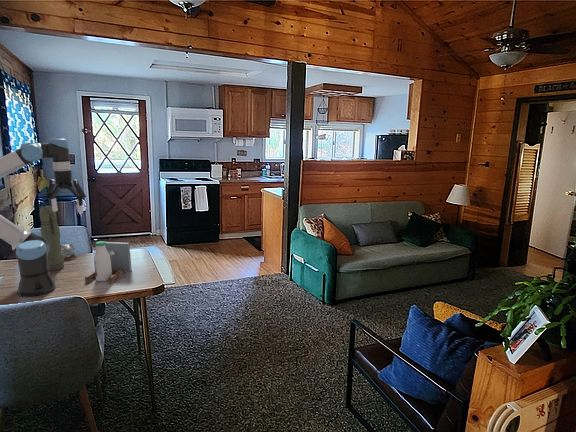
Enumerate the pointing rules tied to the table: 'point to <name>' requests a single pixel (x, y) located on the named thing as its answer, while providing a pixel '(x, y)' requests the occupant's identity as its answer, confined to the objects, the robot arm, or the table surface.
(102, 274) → the milk bottle
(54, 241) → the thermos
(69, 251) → the gray elephant figurine
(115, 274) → the notch cradle
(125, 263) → the wall panel
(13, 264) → the table surface
